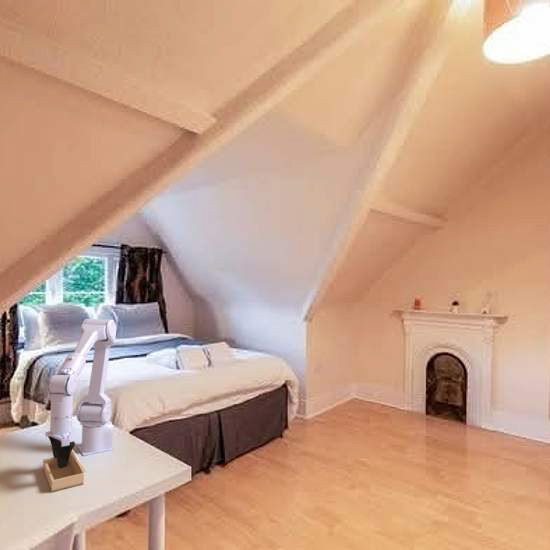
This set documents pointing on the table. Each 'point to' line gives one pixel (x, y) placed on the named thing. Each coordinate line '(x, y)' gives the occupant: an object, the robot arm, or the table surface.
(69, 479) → the carton
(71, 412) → the robot arm
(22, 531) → the table surface
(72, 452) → the lid flap
